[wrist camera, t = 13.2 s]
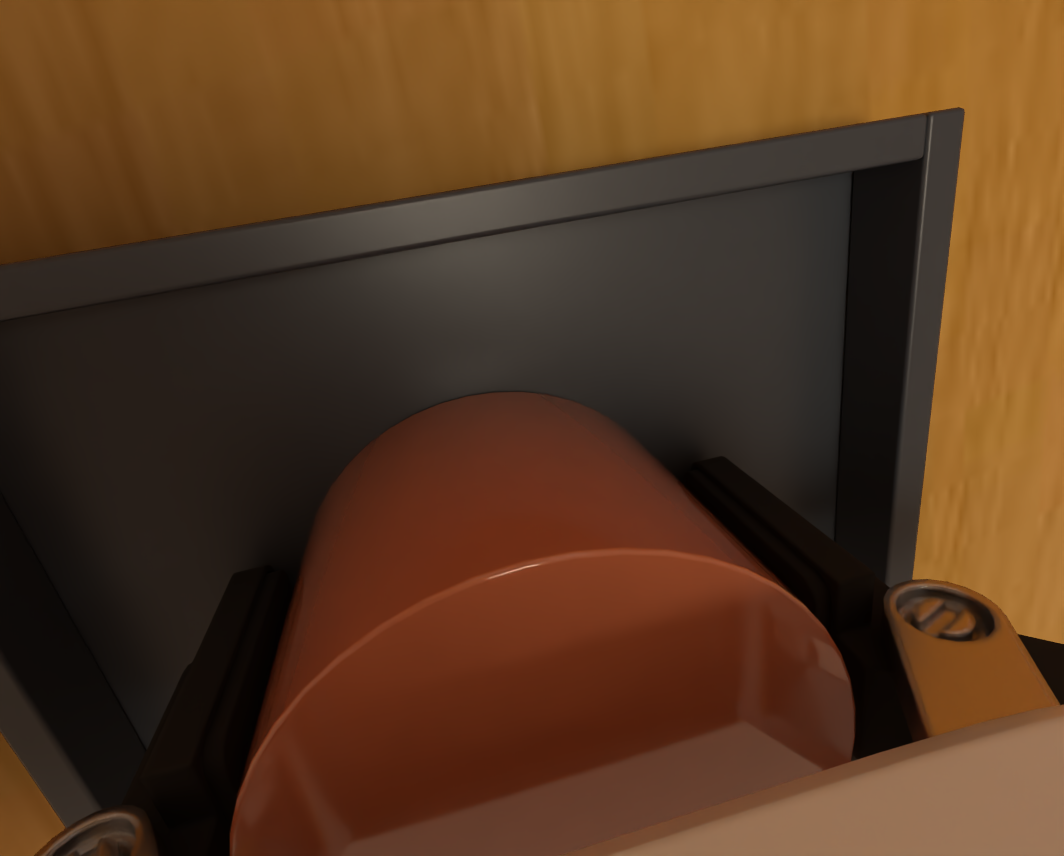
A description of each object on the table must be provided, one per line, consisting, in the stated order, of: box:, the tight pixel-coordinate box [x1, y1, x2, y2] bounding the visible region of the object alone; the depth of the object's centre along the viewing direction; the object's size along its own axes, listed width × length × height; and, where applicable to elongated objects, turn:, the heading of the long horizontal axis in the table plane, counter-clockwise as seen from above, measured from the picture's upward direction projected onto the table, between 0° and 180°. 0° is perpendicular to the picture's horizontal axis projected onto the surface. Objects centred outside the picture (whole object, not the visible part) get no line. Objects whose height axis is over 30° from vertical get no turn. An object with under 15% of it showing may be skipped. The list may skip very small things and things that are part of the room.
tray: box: [0, 107, 965, 828], centre depth 11 cm, size 15×13×2 cm
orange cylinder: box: [229, 392, 856, 856], centre depth 9 cm, size 7×7×5 cm
